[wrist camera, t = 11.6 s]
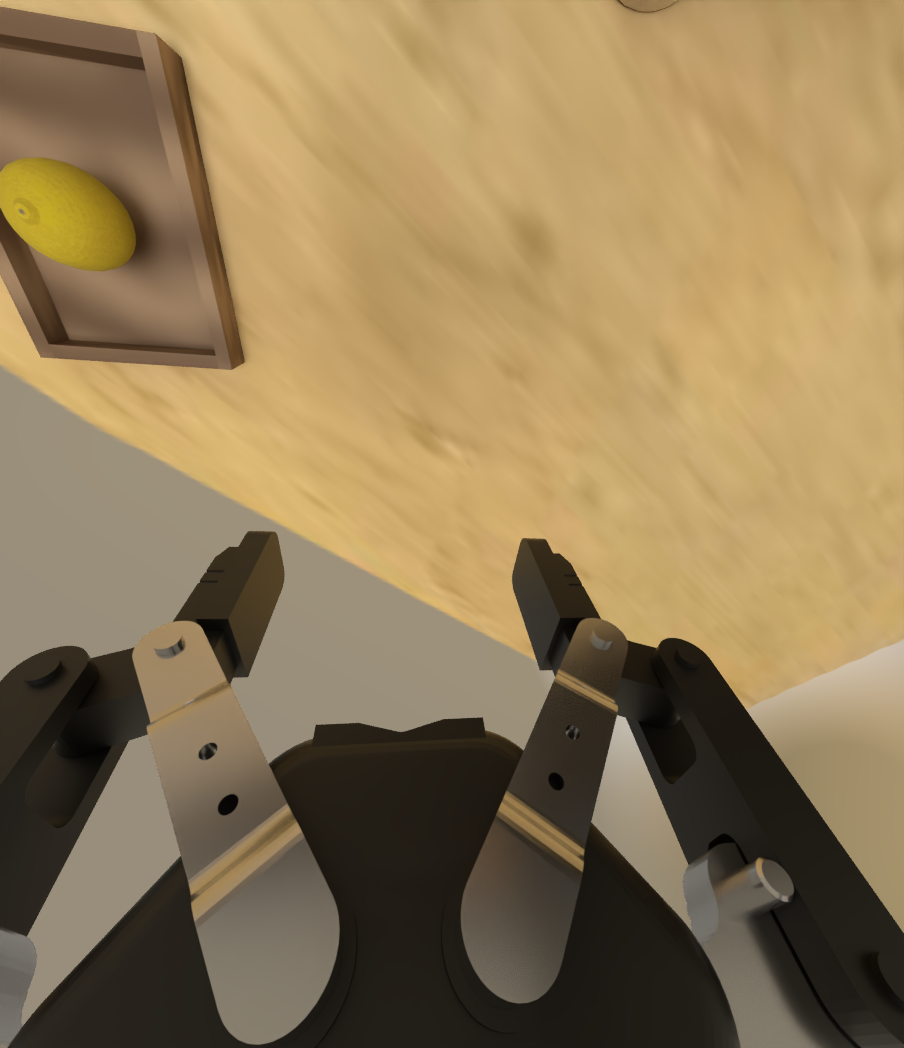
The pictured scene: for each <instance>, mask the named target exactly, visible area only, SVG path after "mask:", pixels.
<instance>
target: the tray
mask: <svg viewBox="0 0 904 1048" xmlns="http://www.w3.org/2000/svg"><path fill="white" fill-rule="evenodd" d="M38 157H43V158H49V159H54V160H58V161H61V162H65V163H68V164H71V165H73V166H75V167H77V168H79V169H81V170H83V171H85V172H87V173H89V174H90V175H92V176H93V177H95V178H96V179H97V180H99V181H100V182H101V183H103V184H104V185H105V186H106V187H108V188H109V189H110V190H111V192H112V193H113V194H114V195H115V196H116V197H117V198H118V199H119V200H120V201H121V203H122V204H123V206H124V207H125V209H126V210H127V212H128V214H129V216H130V218H131V220H132V222H133V226H134V230H135V234H136V246H135V250H134V253H133V255H132V256H131V258H130V259H129V261H128V262H126V263H125V264H123V265H122V266H120V267H119V268H116V269H112V270H107V271H88V270H81V269H77V268H74V267H71V266H67V265H64V264H61V263H59V262H56V261H54V260H52V259H51V258H49V257H47V256H45V255H43V254H42V253H40V252H38V251H37V250H36V249H34V248H33V247H32V246H30V245H29V244H28V243H27V242H25V241H24V240H23V239H22V238H21V237H20V236H19V235H18V233H17V232H16V231H15V230H14V229H13V228H12V226H11V225H10V224H9V222H8V221H7V219H6V218H5V216H4V214H3V212H2V210H1V208H0V275H1V277H2V279H3V281H4V283H5V285H6V287H7V289H8V291H9V293H10V295H11V297H12V300H13V302H14V304H15V306H16V308H17V310H18V312H19V314H20V316H21V318H22V320H23V322H24V324H25V326H26V328H27V330H28V332H29V334H30V336H31V338H32V340H33V342H34V344H35V347H36V349H37V351H38V353H39V355H40V357H44V358H59V359H74V360H90V361H105V362H121V363H136V364H151V365H167V366H182V367H198V368H213V369H228V370H232V369H234V368H236V367H237V366H239V365H241V364H242V363H244V357H243V352H242V347H241V342H240V338H239V333H238V328H237V323H236V318H235V314H234V309H233V304H232V299H231V294H230V290H229V285H228V280H227V275H226V270H225V266H224V261H223V256H222V251H221V246H220V242H219V237H218V232H217V227H216V222H215V218H214V213H213V208H212V203H211V198H210V194H209V189H208V184H207V179H206V174H205V169H204V165H203V160H202V155H201V150H200V145H199V141H198V136H197V131H196V126H195V121H194V117H193V112H192V107H191V102H190V97H189V93H188V88H187V83H186V78H185V73H184V69H183V64H182V59H181V57H180V56H179V55H178V54H177V53H175V52H174V51H173V50H172V49H171V48H170V47H169V46H168V45H167V44H166V43H165V42H164V41H163V40H162V39H160V38H159V37H158V36H157V35H156V34H154V33H149V32H143V31H137V30H131V29H125V28H120V27H114V26H108V25H102V24H97V23H91V22H85V21H79V20H74V19H68V18H62V17H56V16H50V15H45V14H39V13H33V12H27V11H22V10H16V9H10V8H4V7H0V172H1V171H2V169H3V168H4V167H5V166H6V165H7V164H9V163H11V162H13V161H16V160H18V159H21V158H38Z"/></svg>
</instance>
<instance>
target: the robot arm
mask: <svg viewBox="0 0 904 1048" xmlns="http://www.w3.org/2000/svg"><path fill="white" fill-rule="evenodd" d="M620 1H621V2H622V3H623V4H624V5H625V6H627V7H630V8H632V9H635V10H637V11H649V12H653V11H656V10H660V9H663V8H666V7H668V6H670V5H672V4H673V3H675V2H676V1H678V0H620ZM283 583H284V566H283V561H282V556H281V552H280V546H279V541H278V536H277V534H276V533H275V532H266V531H265V532H264V531H249V532H247V534H246V535H245V537H244V538H243V540H242V542H241V544H240V545H239V547H229V548H227V549H226V550H225V551H223V552H222V553H221V554H219V555H218V556H216V557H215V558H214V560H213V562H212V563H211V564H210V566H209V567H208V569H207V573H205V574H204V575H203V577H202V578H201V580H200V583H198V584H197V586H196V587H195V589H194V590H193V592H192V593H191V595H190V596H189V598H188V599H187V601H186V603H185V604H184V606H183V607H182V609H181V610H180V612H179V613H178V615H177V616H176V618H175V619H174V621H173V622H171V623H168V624H165V625H162V626H160V627H158V628H156V629H154V630H152V631H151V632H149V633H148V634H146V635H145V636H144V637H143V638H142V639H141V640H140V641H139V642H138V643H137V645H136V646H135V647H134V648H131V649H127V650H123V651H120V652H115V653H111V654H107V655H103V656H99V657H95V658H90V657H89V655H88V654H87V652H86V651H85V650H84V649H82V648H80V647H76V646H63V647H57V648H53V649H49V650H46V651H43V652H41V653H38V654H36V655H34V656H32V657H30V658H28V659H27V660H25V661H23V662H22V663H20V664H19V665H17V666H16V667H15V668H14V669H12V670H11V671H10V672H9V673H8V674H7V675H6V676H5V677H4V678H3V680H1V682H0V1048H904V933H903V932H902V930H901V929H900V928H899V926H898V925H897V923H896V922H895V920H894V919H893V917H892V916H891V915H890V913H889V912H888V910H887V909H886V908H885V906H884V905H883V903H882V902H881V901H880V899H879V898H878V896H877V895H876V893H875V892H874V891H873V889H872V888H871V886H870V885H869V883H868V882H867V881H866V879H865V878H864V876H863V875H862V874H861V872H860V871H859V869H858V868H857V866H856V865H855V864H854V862H853V861H852V859H851V858H850V857H849V855H848V854H847V852H846V851H845V849H844V848H843V847H842V845H841V844H840V842H839V841H838V840H837V838H836V837H835V835H834V834H833V832H832V831H831V830H830V828H829V827H828V825H827V824H826V823H825V821H824V820H823V818H822V817H821V815H820V814H819V813H818V811H817V810H816V808H815V807H814V806H813V804H812V803H811V801H810V800H809V798H808V797H807V796H806V794H805V793H804V791H803V790H802V789H801V787H800V786H799V785H798V783H797V782H796V780H795V779H794V777H793V776H792V775H791V773H790V772H789V770H788V769H787V767H786V766H785V765H784V763H783V762H782V760H781V759H780V758H779V756H778V755H777V753H776V752H775V750H774V749H773V747H772V746H771V745H770V743H769V742H768V741H767V739H766V738H765V736H764V735H763V733H762V732H761V730H760V729H759V728H758V726H757V725H756V723H755V722H754V721H753V720H752V718H751V716H750V715H749V713H748V712H747V711H746V709H745V708H744V706H743V705H742V704H741V702H740V701H739V699H738V698H737V697H736V695H735V694H734V692H733V691H732V689H731V688H730V687H729V685H728V684H727V682H726V681H725V680H724V678H723V677H722V675H721V674H720V672H719V671H718V670H717V668H716V667H715V665H714V664H713V663H712V661H711V660H710V658H709V657H708V656H707V655H706V654H705V653H704V652H703V651H702V650H701V649H699V648H698V647H696V646H695V645H693V644H691V643H689V642H687V641H685V640H682V639H678V638H667V639H664V640H663V641H661V643H660V644H659V646H658V647H657V648H654V647H650V646H646V645H642V644H638V643H635V642H631V641H628V640H627V639H626V637H625V635H624V634H623V633H622V632H621V631H620V630H619V629H618V628H617V627H616V626H614V625H613V624H611V623H609V622H608V621H605V620H602V619H601V618H600V616H599V614H598V612H597V611H596V609H595V607H594V605H593V603H592V601H591V600H590V598H589V596H588V594H587V592H586V591H585V589H584V587H583V586H582V583H581V581H580V580H579V578H578V577H577V574H576V572H575V571H574V569H573V567H572V565H571V563H569V562H568V561H567V560H566V559H565V558H564V557H563V556H562V555H561V554H553V552H552V550H551V548H550V547H549V545H548V543H547V541H546V540H545V539H530V538H523V539H522V540H521V543H520V546H519V550H518V554H517V558H516V562H515V566H514V570H513V576H512V584H513V590H514V593H515V596H516V599H517V602H518V605H519V608H520V611H521V614H522V617H523V620H524V623H525V626H526V629H527V632H528V635H529V638H530V641H531V644H532V647H533V650H534V653H535V657H536V660H537V663H538V666H539V669H540V670H553V673H554V675H555V679H554V682H553V684H552V686H551V689H550V691H549V693H548V696H547V698H546V700H545V703H544V705H543V707H542V709H541V712H540V714H539V717H538V719H537V721H536V723H535V726H534V728H533V731H532V733H531V735H530V738H529V740H528V742H527V744H526V747H525V749H524V751H523V750H522V749H521V748H520V747H519V746H517V745H516V744H514V743H513V742H511V741H510V740H508V739H506V738H504V737H502V736H500V735H498V734H495V733H492V732H489V731H485V728H484V722H483V718H462V719H443V720H440V721H437V722H434V723H431V724H427V725H424V726H421V727H418V728H415V729H412V730H409V731H405V732H397V731H392V730H388V729H383V728H379V727H374V726H370V725H365V724H361V723H349V724H327V725H316V727H315V733H314V737H313V739H311V740H308V741H305V742H303V743H301V744H298V745H296V746H294V747H292V748H291V749H289V750H287V751H285V752H284V753H282V754H281V755H280V756H278V757H277V758H275V759H274V760H273V761H272V762H270V763H269V764H268V762H267V760H266V758H265V756H264V754H263V751H262V749H261V747H260V745H259V743H258V741H257V739H256V737H255V735H254V733H253V731H252V729H251V726H250V724H249V722H248V720H247V718H246V716H245V714H244V712H243V710H242V708H241V706H240V704H239V701H238V699H237V697H236V695H235V693H234V691H233V689H232V687H231V685H230V683H231V681H232V679H233V678H234V677H248V676H249V673H250V670H251V668H252V665H253V663H254V660H255V658H256V655H257V652H258V650H259V647H260V645H261V642H262V639H263V637H264V634H265V632H266V629H267V626H268V623H269V621H270V619H271V616H272V613H273V611H274V608H275V606H276V603H277V600H278V598H279V595H280V593H281V590H282V587H283ZM617 715H619V716H623V717H626V719H627V721H628V724H629V726H630V729H631V731H632V733H633V735H634V738H635V740H636V743H637V745H638V747H639V749H640V752H641V754H642V756H643V759H644V761H645V764H646V766H647V768H648V771H649V773H650V775H651V778H652V780H653V782H654V785H655V787H656V789H657V792H658V794H659V796H660V799H661V801H662V804H663V806H664V808H665V811H666V813H667V815H668V818H669V820H670V822H671V824H672V827H673V829H674V832H675V834H676V836H677V839H678V841H679V843H680V846H681V848H682V850H683V853H684V855H685V858H686V860H687V862H688V867H687V868H686V870H685V873H684V876H683V890H684V896H685V899H686V902H687V912H688V916H689V918H690V920H691V930H690V929H689V928H688V926H687V925H686V924H685V923H684V921H683V920H682V919H681V918H680V917H679V916H678V915H677V913H676V912H675V911H674V910H673V909H672V908H671V907H670V906H669V905H668V904H667V903H666V902H665V901H664V900H663V898H662V897H661V896H660V895H659V894H658V893H657V892H656V891H655V890H654V889H653V888H652V887H651V886H650V885H649V883H648V882H646V880H645V879H644V878H643V877H642V876H641V875H640V874H639V873H638V872H637V871H636V870H635V869H634V867H633V866H632V865H631V864H630V863H629V862H628V861H627V860H626V859H625V858H624V857H623V856H622V855H621V854H620V853H619V852H618V850H617V849H616V848H615V847H614V846H613V845H612V844H611V843H610V842H609V841H608V840H607V839H606V838H605V836H604V835H603V834H602V833H601V832H600V831H599V830H598V829H597V828H596V827H595V826H594V825H593V824H592V823H591V820H592V816H593V812H594V808H595V803H596V799H597V795H598V791H599V787H600V783H601V779H602V775H603V770H604V766H605V762H606V757H607V754H608V749H609V746H610V741H611V737H612V733H613V729H614V725H615V721H616V717H617ZM147 734H148V737H149V741H150V744H151V748H152V751H153V755H154V759H155V763H156V766H157V770H158V773H159V777H160V781H161V785H162V788H163V792H164V795H165V799H166V803H167V806H168V810H169V814H170V817H171V821H172V824H173V828H174V832H175V835H176V839H177V843H178V846H179V850H180V854H181V856H180V857H179V858H178V859H177V860H176V861H175V863H174V864H173V865H172V866H171V867H170V868H169V869H168V870H167V871H166V872H165V873H164V874H163V875H162V876H161V877H160V879H159V880H158V881H157V882H156V883H155V884H154V885H153V886H152V887H151V888H150V889H149V890H148V891H147V892H146V893H145V894H144V895H143V896H142V897H141V899H140V900H139V901H138V902H137V903H136V904H135V905H134V906H133V907H132V908H131V909H130V910H129V911H128V912H127V913H126V914H125V915H124V917H123V918H122V919H121V920H120V921H119V922H118V923H117V924H116V925H115V926H114V927H113V928H112V929H111V930H110V931H109V932H108V933H107V935H106V936H105V937H104V938H103V939H102V940H101V941H100V942H99V943H98V944H97V945H96V946H95V947H94V948H93V949H92V950H91V951H90V953H89V954H88V955H87V956H86V957H85V958H84V959H83V960H82V961H81V962H80V963H79V964H78V965H77V966H76V967H75V968H74V969H73V971H72V972H71V973H70V974H69V975H68V976H67V977H66V978H65V979H64V980H63V981H62V982H61V983H60V984H59V985H58V986H57V987H56V989H55V990H54V991H53V992H52V993H51V994H50V995H49V996H48V997H47V999H45V1000H44V1001H43V1003H42V1004H41V1005H40V1006H39V1007H38V1008H37V1009H36V1011H35V1012H34V1013H33V1014H32V1015H31V1017H30V1018H29V1019H28V1021H27V1022H26V1023H25V1024H24V1025H23V1027H22V1022H21V1018H22V1009H23V1005H24V1002H25V1000H26V997H27V993H28V989H29V986H30V984H31V981H32V978H33V976H34V972H35V968H36V962H37V953H36V947H35V945H34V943H33V942H32V941H31V939H30V938H28V937H27V935H28V933H29V931H30V929H31V928H32V925H33V924H34V922H35V920H36V918H37V916H38V914H39V912H40V910H41V908H42V906H43V904H44V903H45V901H46V899H47V897H48V895H49V893H50V891H51V889H52V887H53V885H54V883H55V881H56V880H57V877H58V876H59V874H60V872H61V870H62V868H63V866H64V864H65V862H66V860H67V858H68V857H69V854H70V853H71V851H72V849H73V847H74V845H75V843H76V841H77V839H78V837H79V835H80V834H81V832H82V830H83V828H84V826H85V824H86V822H87V820H88V818H89V816H90V814H91V812H92V810H93V808H94V807H95V805H96V803H97V801H98V799H99V797H100V795H101V793H102V791H103V789H104V787H105V786H106V784H107V782H108V780H109V778H110V776H111V774H112V772H113V770H114V768H115V766H116V764H117V763H118V760H119V759H120V757H121V755H122V753H123V751H124V749H125V747H126V745H127V743H128V741H129V740H132V739H135V738H138V737H141V736H144V735H147Z"/></svg>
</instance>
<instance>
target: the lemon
mask: <svg viewBox="0 0 904 1048" xmlns="http://www.w3.org/2000/svg"><path fill="white" fill-rule="evenodd" d="M0 208H1V210H2V212H3V214H4V216H5V218H6V219H7V221H8V222H9V224H10V225H11V226H12V228H13V229H14V230H15V231H16V232H17V233H18V235H19V236H20V237H21V238H22V239H23V240H24V241H25V242H27V243H28V244H29V245H30V246H32V247H33V248H34V249H36V250H37V251H38V252H40V253H42V254H43V255H45V256H47V257H49V258H51V259H52V260H54V261H56V262H59V263H61V264H64V265H67V266H71V267H74V268H77V269H81V270H88V271H107V270H112V269H116V268H119V267H120V266H122V265H123V264H125V263H126V262H128V261H129V259H130V258H131V256H132V255H133V253H134V250H135V246H136V234H135V230H134V226H133V222H132V220H131V218H130V216H129V214H128V212H127V210H126V209H125V207H124V206H123V204H122V203H121V201H120V200H119V199H118V198H117V197H116V196H115V195H114V194H113V193H112V192H111V190H110V189H109V188H108V187H106V186H105V185H104V184H103V183H101V182H100V181H99V180H97V179H96V178H95V177H93V176H92V175H90V174H89V173H87V172H85V171H83V170H81V169H79V168H77V167H75V166H73V165H71V164H68V163H65V162H61V161H58V160H54V159H49V158H43V157H38V158H21V159H18V160H16V161H13V162H11V163H9V164H7V165H6V166H5V167H4V168H3V169H2V171H1V172H0Z"/></svg>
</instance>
